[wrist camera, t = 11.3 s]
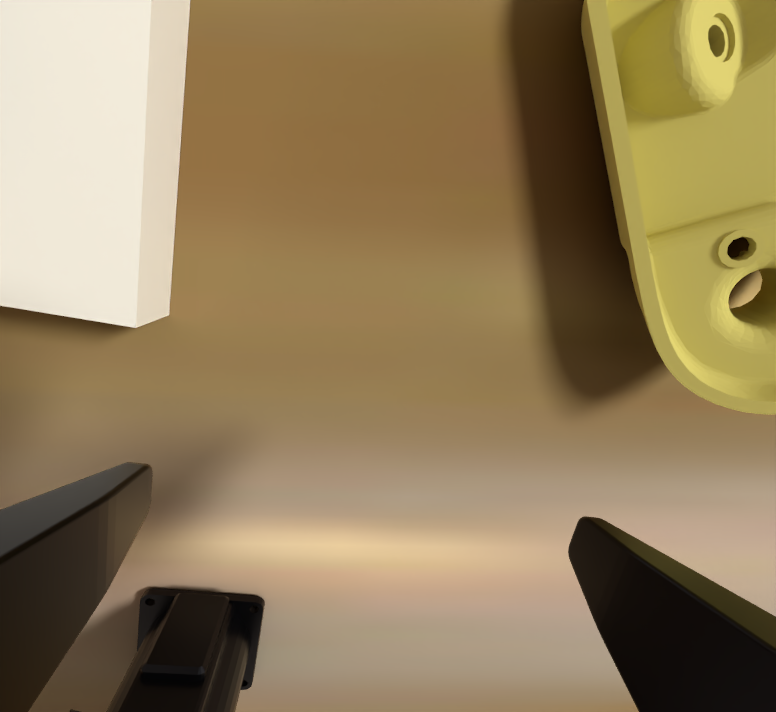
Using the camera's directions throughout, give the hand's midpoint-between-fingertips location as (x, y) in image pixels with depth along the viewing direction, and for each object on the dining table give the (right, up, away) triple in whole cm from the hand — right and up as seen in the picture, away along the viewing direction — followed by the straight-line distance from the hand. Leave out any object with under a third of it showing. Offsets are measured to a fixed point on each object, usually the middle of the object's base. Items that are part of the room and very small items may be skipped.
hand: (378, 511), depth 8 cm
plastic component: (+15, +12, +11) cm, 22 cm away
